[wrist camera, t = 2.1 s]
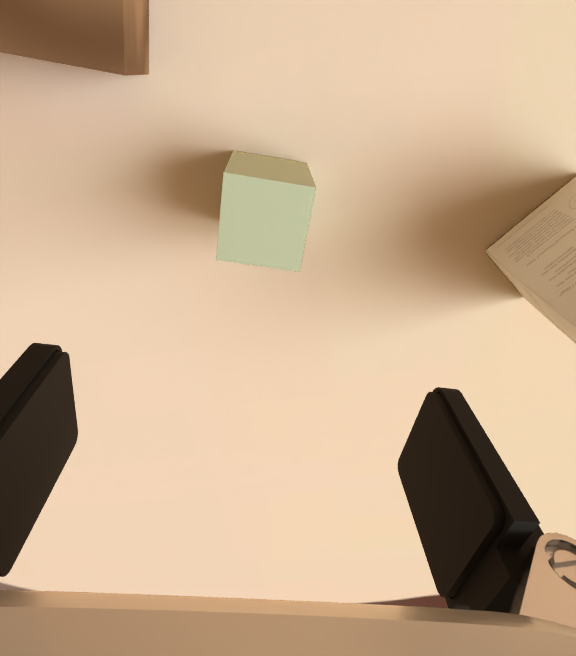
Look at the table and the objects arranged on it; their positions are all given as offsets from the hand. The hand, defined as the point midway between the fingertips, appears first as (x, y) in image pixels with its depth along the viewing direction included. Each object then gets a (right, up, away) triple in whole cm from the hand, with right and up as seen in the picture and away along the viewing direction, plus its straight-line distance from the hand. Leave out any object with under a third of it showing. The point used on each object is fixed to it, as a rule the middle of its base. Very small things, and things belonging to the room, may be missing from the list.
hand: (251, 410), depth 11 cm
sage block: (-1, +12, +19) cm, 22 cm away
